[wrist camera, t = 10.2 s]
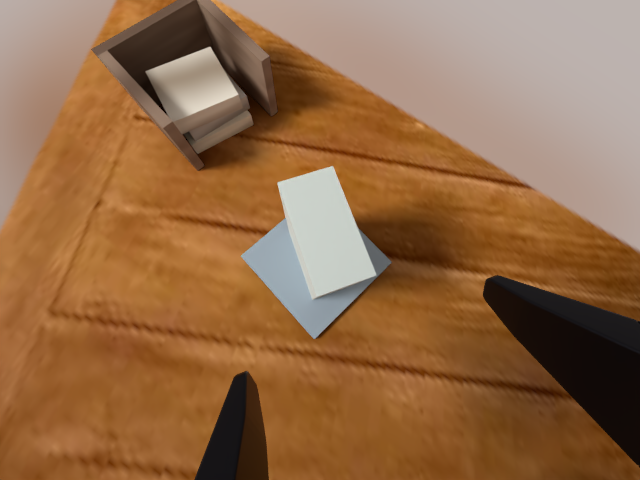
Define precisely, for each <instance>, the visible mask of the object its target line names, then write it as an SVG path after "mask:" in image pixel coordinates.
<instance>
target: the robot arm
mask: <svg viewBox="0 0 640 480" xmlns="http://www.w3.org/2000/svg"><path fill="white" fill-rule="evenodd" d="M483 297H484V299H485V301H486V302H487V303H488V305H489V306H490V307H491V308H492V310H493V311H494V312H495V313H496V315H497V316H498V317H499V318H500V320H501V321H502V322H503V323H504V325H505V326H506V327H507V328H508V330H509V331H510V332H511V333H512V334H513V336H514V337H515V338H516V339H517V340H518V341H519V342H520V343H521V344H522V345H523V346H524V347H525V348H526V349H527V350H528V351H529V353H530V354H531V355H532V356H533V357H534V358H535V359H536V360H537V361H538V362H539V363H540V364H541V365H542V366H543V367H544V368H545V369H546V370H547V371H548V372H549V373H550V374H551V375H552V377H553V378H554V379H555V380H556V381H557V382H558V383H559V384H560V385H561V386H562V387H563V388H564V389H565V390H566V391H567V392H568V393H569V394H570V395H571V396H572V397H573V398H574V399H575V401H576V402H577V403H578V404H579V405H580V406H581V407H582V408H583V409H584V410H585V411H586V412H587V413H588V414H589V415H590V416H591V417H592V418H593V419H594V420H595V421H596V422H597V423H598V425H599V426H600V427H601V428H602V429H603V430H604V431H605V432H606V433H607V434H608V435H609V436H610V437H611V438H612V439H613V440H614V441H615V442H616V443H617V444H618V445H619V446H620V448H621V449H622V450H623V451H624V452H625V453H626V454H627V455H628V456H629V457H630V458H631V459H632V460H633V461H634V462H635V463H636V464H637V465H638V466H639V468H640V321H638V322H637V321H636V320H634V319H631V318H628V317H625V316H622V315H619V314H616V313H613V312H610V311H607V310H603V309H600V308H597V307H594V306H591V305H588V304H585V303H582V302H579V301H576V300H573V299H570V298H567V297H564V296H561V295H557V294H554V293H551V292H548V291H545V290H542V289H539V288H536V287H533V286H530V285H527V284H524V283H521V282H518V281H514V280H511V279H508V278H505V277H502V276H498V275H496V276H493V277H490V278H488V279H486V281H485V286H484V291H483ZM195 480H269V477H268V461H267V446H266V437H265V430H264V424H263V418H262V412H261V406H260V400H259V394H258V389H257V385H256V383H255V382H254V380H253V378H252V377H251V375H250V374H249V372H247V371H245V372H242V373H240V374H237V375H236V376H235V377H234V378H233V381H232V384H231V386H230V389H229V391H228V394H227V397H226V399H225V402H224V404H223V407H222V410H221V412H220V415H219V417H218V420H217V423H216V425H215V428H214V430H213V433H212V435H211V438H210V441H209V443H208V446H207V448H206V451H205V454H204V456H203V459H202V461H201V464H200V467H199V469H198V472H197V474H196V477H195Z"/></svg>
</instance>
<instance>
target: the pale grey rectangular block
mask: <svg viewBox="0 0 640 480" xmlns="http://www.w3.org/2000/svg"><path fill="white" fill-rule="evenodd" d="M278 187H279V192H280V196H281V200H282V204H283V208H284V212H285V217H286V221H287V225H288V229H289V233H290V236H291V239H292V242H293V245H294V248H295V251H296V254H297V256H298V259H299V262H300V265H301V268H302V271H303V274H304V277H305V280H306V283H307V286H308V289H309V292H310V295H311V298H312V300H314V299H316V298H319V297H322V296H325V295H327V294H330V293H333V292H335V291H338V290H341V289H344V288H346V287H349V286H351V285H354V284H356V283H359V282H361V281H364V280H366V279H369V278H371V277H374V276H376V272H375V270H374V267H373V265H372V262H371V260H370V257H369V255H368V252H367V250H366V248H365V245H364V243H363V240H362V238H361V235H360V233H359V230H358V228H357V225H356V223H355V220H354V218H353V215H352V213H351V210H350V208H349V205H348V203H347V200H346V198H345V195H344V193H343V190H342V188H341V185H340V183H339V180H338V178H337V175H336V173H335V170H334V168H333V166H331V167H328V168H325V169H321V170H318V171H314V172H311V173H308V174H304V175H301V176H298V177H294V178H291V179H288V180H284V181H281V182H278Z"/></svg>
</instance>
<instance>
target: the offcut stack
mask: <svg viewBox="0 0 640 480" xmlns="http://www.w3.org/2000/svg"><path fill="white" fill-rule="evenodd" d="M145 72H146V74H147V76H148V78H149V80H150V82H151V84H152V85H153V87H154V89H155V91H156V93H157V95H158V97H159V99H160V101H161V103H162V105H163V107H164V109H165V111H166V113H167V115H168V117H169V118H170V119H171V120H172V121H173V123H174V124H175V125H176V127H177V128H178V130H179V131H180V132H181V134H184V135H185V137H186V138H187V140H188V141H189V143H190V145H191V146H192V147H193V149H194V150H195V152H196V153H197V154H199V153H201V152H203V151H205V150H206V149H208V148H210V147H212V146H214V145H216V144H218V143H220V142H222V141H224V140H226V139H228V138H229V137H231V136H233V135H235V134H237V133H239V132H241V131H243V130H245V129H247V128H249V127H251V126H252V125H254V124H253V120H252V117H251V114H250V113H249V111H248V109H250V106H249V102H248V99H247V95H246V94H245V93H244V92H243V91H242V90H241V88H240V87H239V86H238V85H237V84H236V83H235V82H234V80H233V79H232V78H231V77H230V76H229V75H228V73H227V72H226V71H225V70H224V69H223V68H222V66H221V64H220V62H219V61H218V59H217V57H216V56H215V54H214V52H213V51H212V49H211V47H208V48H205V49H203V50H200V51H197V52H195V53H192V54H189V55H187V56H184V57H182V58H179V59H176V60H174V61H171V62H169V63H166V64H163V65H161V66H158V67H155V68H153V69H150V70H148V71H145Z"/></svg>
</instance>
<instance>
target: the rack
mask: <svg viewBox="0 0 640 480" xmlns="http://www.w3.org/2000/svg"><path fill="white" fill-rule="evenodd" d="M208 47H211V49H212V51H213V52H214V54H215V56H216V57H217V59H218V61H219V62H220V64H221V66H222V68H223V69H224V70H225V71H226V72H227V73H228V74H229V75H230V76H231V77H232V78H233V79H234V80H235V81H236V82H237V83H238V84H239V85H240V86H241V87H242V88H243V89H244V90H245V91H246V92H247V93H248V94H249V95H250V96H251V97H252V98H253V99H254V100H256V101H257V102H258V103H259V104H260V105H261V106H262V107H263V108H264V109H265V110H266V111H267V112H268V113H269V114H270V115H271V116H273V115H274V114H276V113H277V112H278V110H277V103H276V96H275V90H274V83H273V76H272V70H271V63H270V56H269V55H268V54H267V53H266V52H265V51H264V50H263V49H262V48H260V47H259V46H258V45H257V44H256V43H255V42H254V41H253V40H252V39H251V38H250V37H249V36H248V35H247V34H246V33H245V32H244V31H242V30H241V29H240V28H239V27H238V26H237V25H236V24H235V23H234V22H233V21H232V20H231V19H230V18H229V17H228V16H227V15H226V14H225V13H223V12H222V11H221V10H220V9H219V8H218V7H217V6H216V5H215V4H214V3H213V2H212V1H211V0H177V1H175V2H174V3H172V4H170V5H168V6H167V7H165V8H163V9H161V10H160V11H158V12H156V13H154V14H153V15H151V16H149V17H147V18H146V19H144V20H142V21H140V22H138V23H137V24H135V25H133V26H131V27H130V28H128V29H126V30H124V31H123V32H121V33H119V34H117V35H116V36H114V37H112V38H110V39H109V40H107V41H105V42H103V43H102V44H100V45H98V46H96V47H94V48H93V49H91V50H92V51H93V52H94V53H95V54H96V56H97V57H98V58H99V59H100V60H101V61H102V63H103V64H104V65H105V66H106V67H107V69H108V70H109V71H110V72H111V73H112V74H113V76H114V77H115V78H116V79H117V80H118V82H119V83H120V84H121V85H122V86H123V88H124V89H125V90H126V91H127V92H128V93H129V95H130V96H131V97H132V98H133V99H134V101H135V102H136V103H137V104H138V105H139V106H140V108H141V109H142V110H143V111H144V112H145V113H146V114H147V115H148V116H149V118H150V119H151V120H152V121H153V122H154V123H155V124H156V125H157V126H158V127H159V129H160V130H161V131H162V132H163V133H164V134H165V135H166V136H167V137H168V139H169V140H170V141H171V142H172V143H173V144H174V145H175V146H176V147H177V148H178V150H179V151H180V152H181V153H182V154H183V155H184V156H185V157H186V158H187V159H188V161H189V162H190V163H191V164H192V165H193V166H194V167H195V168H196V169H197V171H198V170H199V169H201V168H202V167H203V166H205V165H204V164H203V162H202V161H201V160H200V158H199V157H198V155H197V154H196V153H195V151H194V150H193V149H192V147H191V146H190V145H189V143H188V142H187V140H186V139H185V138H184V136H183V135H182V134H181V132H180V131H179V130H178V128H177V127H176V125H175V124H174V123H173V121H172V120H171V119H170V118H169V117H168V116H167V115H166V114H165V113H164V112H163V111H162V109H161V108H160V107H159V106H158V105H160V104H162V103H161V101H160V99H159V97H158V95H157V93H156V91H155V89H154V87H153V85H152V84H151V82H150V80H149V78H148V76H147V74H146V72H145V71H148V70H150V69H153V68H155V67H158V66H161V65H163V64H166V63H169V62H171V61H174V60H176V59H179V58H182V57H184V56H187V55H189V54H192V53H195V52H197V51H200V50H203V49H205V48H208Z"/></svg>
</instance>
